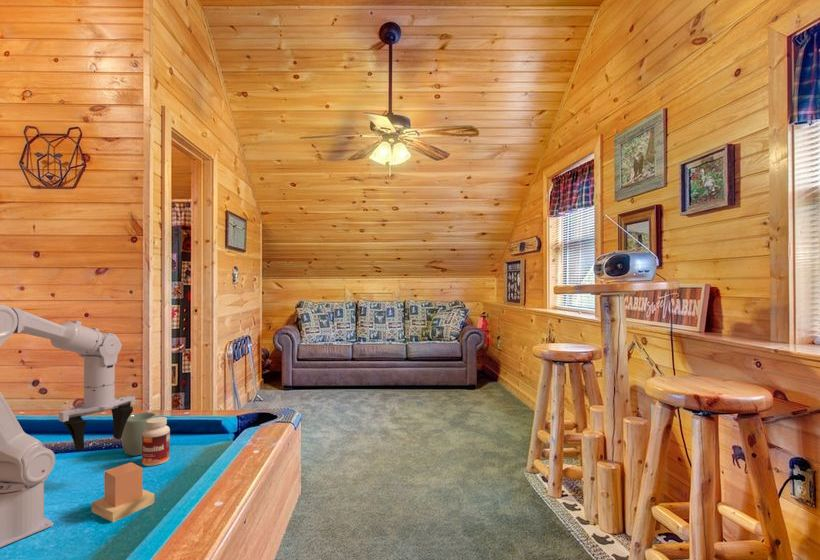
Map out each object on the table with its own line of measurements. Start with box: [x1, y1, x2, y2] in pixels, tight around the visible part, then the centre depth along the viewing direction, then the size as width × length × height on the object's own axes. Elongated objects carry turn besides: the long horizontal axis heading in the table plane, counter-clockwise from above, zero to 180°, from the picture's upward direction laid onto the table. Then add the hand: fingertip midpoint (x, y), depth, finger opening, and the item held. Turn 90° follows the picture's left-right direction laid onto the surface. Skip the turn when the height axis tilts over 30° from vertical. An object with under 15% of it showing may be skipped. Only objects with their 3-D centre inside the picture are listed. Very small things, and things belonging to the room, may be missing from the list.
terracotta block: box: [103, 462, 144, 507], centre depth 85 cm, size 5×5×6 cm
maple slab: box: [91, 488, 155, 523], centre depth 85 cm, size 8×8×2 cm
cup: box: [121, 411, 157, 457], centre depth 113 cm, size 8×8×10 cm
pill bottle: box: [141, 416, 171, 467], centre depth 107 cm, size 6×6×11 cm
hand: (99, 443), depth 94 cm, fingers open, 7 cm apart
